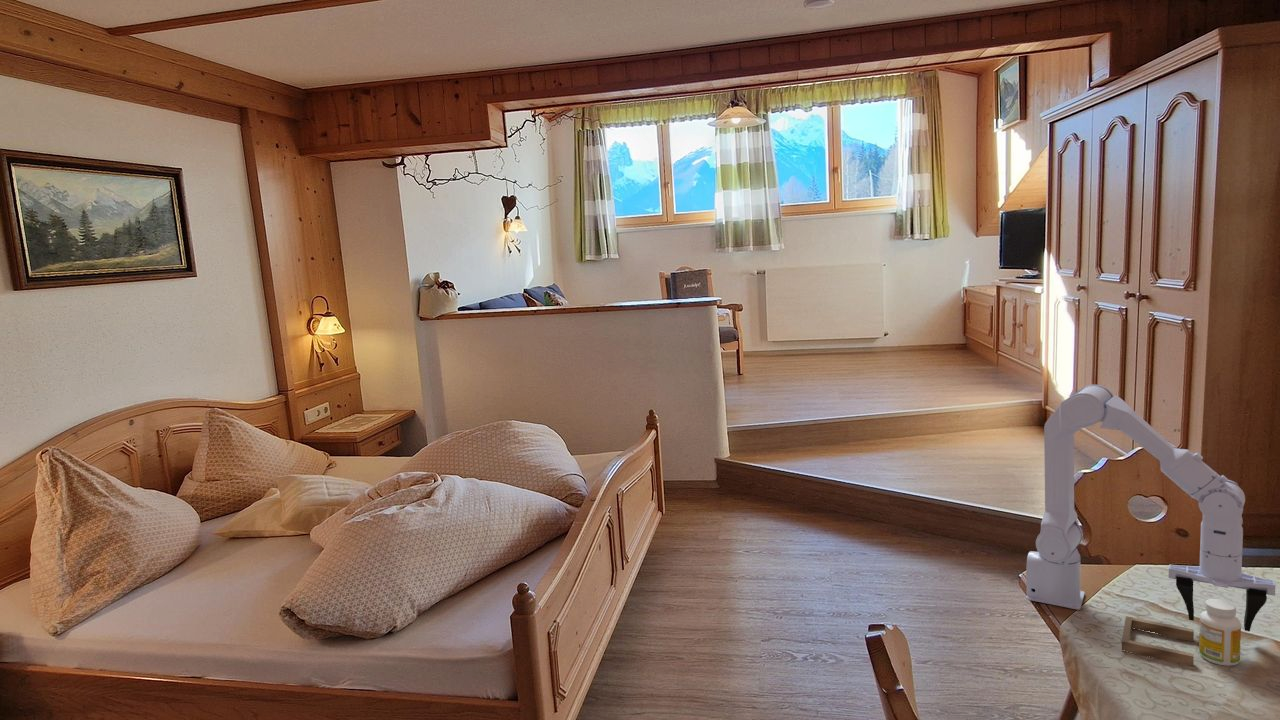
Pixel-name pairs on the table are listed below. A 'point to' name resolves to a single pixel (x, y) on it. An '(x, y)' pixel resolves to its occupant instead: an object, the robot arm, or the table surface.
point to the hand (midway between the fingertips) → (1218, 623)
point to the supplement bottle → (1220, 633)
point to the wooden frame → (1154, 650)
